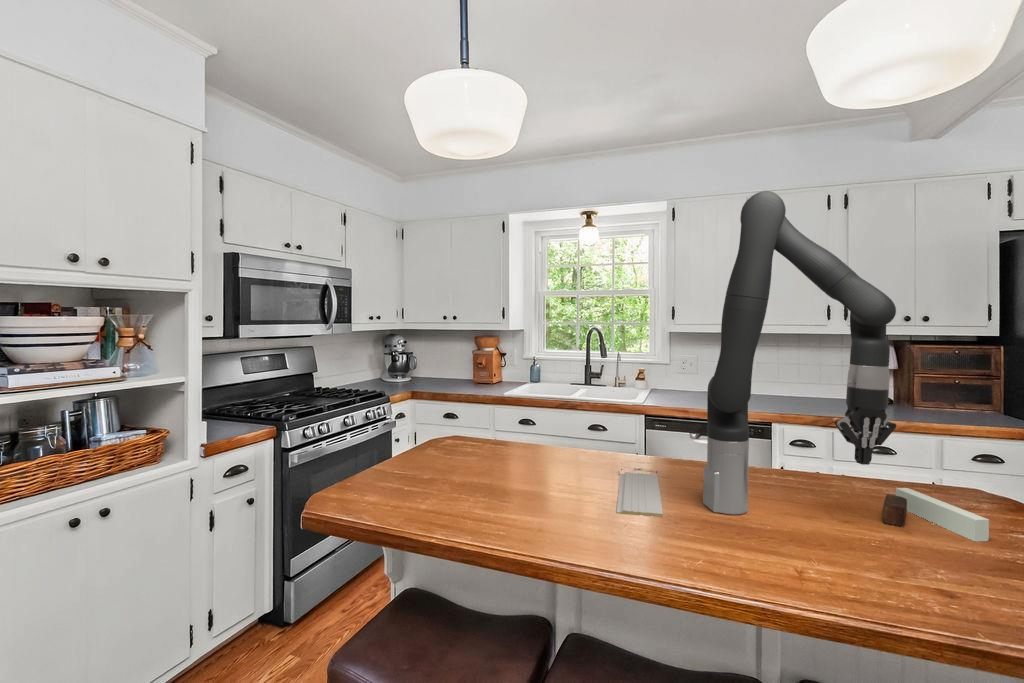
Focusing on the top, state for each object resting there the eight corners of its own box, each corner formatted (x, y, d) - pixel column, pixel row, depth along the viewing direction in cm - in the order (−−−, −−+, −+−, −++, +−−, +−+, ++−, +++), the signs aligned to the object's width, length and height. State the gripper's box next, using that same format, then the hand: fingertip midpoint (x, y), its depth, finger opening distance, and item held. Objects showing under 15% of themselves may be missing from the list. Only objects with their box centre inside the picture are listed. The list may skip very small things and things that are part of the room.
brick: (904, 529, 110) (905, 508, 109) (882, 524, 112) (882, 503, 112) (907, 515, 118) (907, 495, 118) (886, 511, 120) (886, 491, 120)
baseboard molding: (610, 515, 119) (662, 520, 116) (610, 503, 119) (662, 508, 116) (615, 476, 149) (657, 479, 146) (615, 466, 149) (657, 469, 146)
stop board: (974, 541, 103) (975, 519, 103) (895, 506, 123) (895, 488, 123) (988, 541, 103) (989, 519, 103) (906, 505, 123) (907, 487, 123)
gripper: (851, 387, 106) (846, 468, 106) (910, 388, 106) (905, 469, 107) (826, 382, 113) (822, 458, 114) (882, 384, 114) (878, 459, 115)
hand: (862, 463), depth 111 cm, fingers closed
